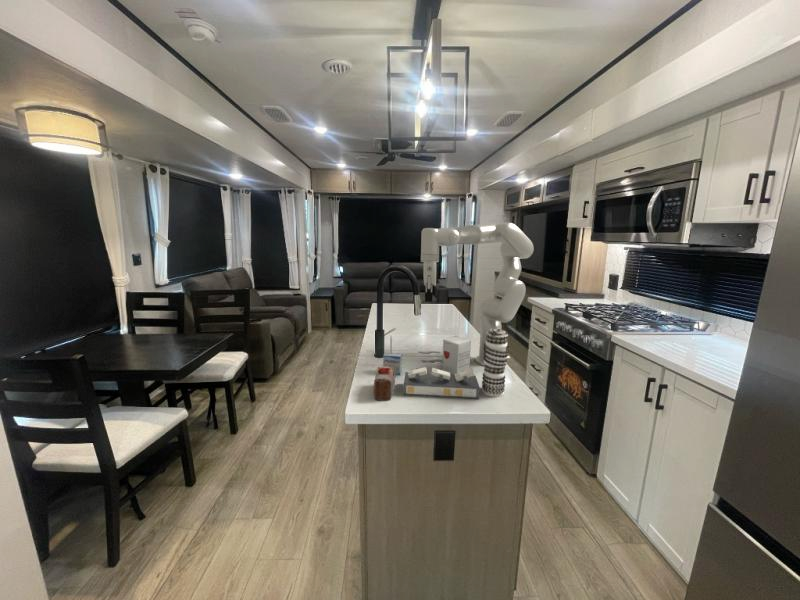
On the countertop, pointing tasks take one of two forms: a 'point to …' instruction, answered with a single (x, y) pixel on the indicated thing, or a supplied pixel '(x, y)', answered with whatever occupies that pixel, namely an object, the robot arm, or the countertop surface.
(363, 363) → the countertop surface
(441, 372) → the rocker
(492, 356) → the decorative candle
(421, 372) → the rocker
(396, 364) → the medicine box
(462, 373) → the rocker
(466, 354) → the supplement box
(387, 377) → the food item
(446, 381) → the switch unit
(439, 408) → the countertop surface
